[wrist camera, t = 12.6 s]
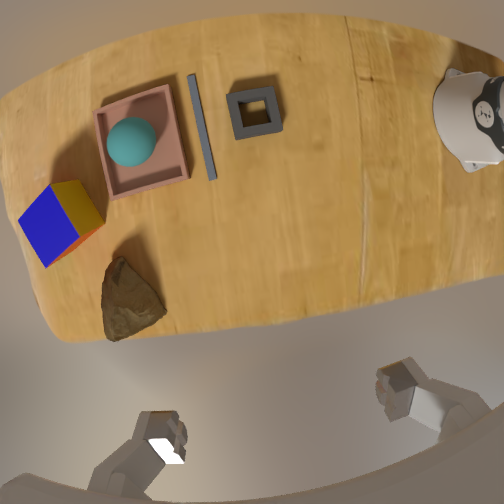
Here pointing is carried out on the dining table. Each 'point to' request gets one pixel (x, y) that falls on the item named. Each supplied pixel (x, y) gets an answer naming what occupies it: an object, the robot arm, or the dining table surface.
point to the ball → (131, 141)
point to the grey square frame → (252, 96)
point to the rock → (127, 302)
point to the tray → (166, 150)
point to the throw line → (201, 127)
